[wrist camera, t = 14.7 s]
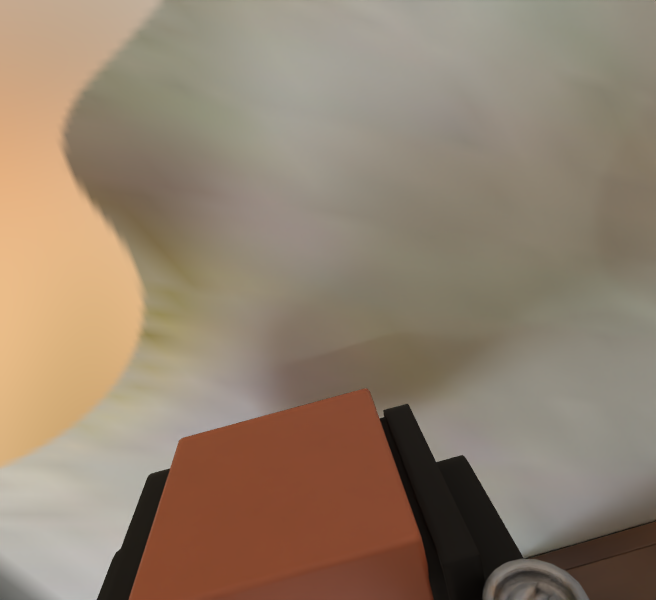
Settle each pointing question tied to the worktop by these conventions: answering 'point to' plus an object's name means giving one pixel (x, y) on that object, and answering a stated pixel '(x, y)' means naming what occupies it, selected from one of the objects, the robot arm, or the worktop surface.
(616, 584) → the cabinet
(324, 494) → the block
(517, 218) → the worktop surface
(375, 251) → the worktop surface
